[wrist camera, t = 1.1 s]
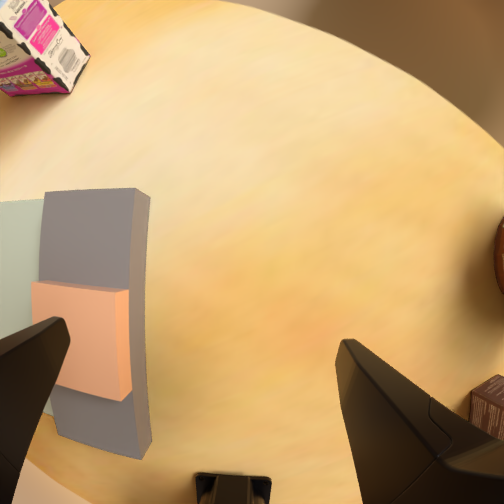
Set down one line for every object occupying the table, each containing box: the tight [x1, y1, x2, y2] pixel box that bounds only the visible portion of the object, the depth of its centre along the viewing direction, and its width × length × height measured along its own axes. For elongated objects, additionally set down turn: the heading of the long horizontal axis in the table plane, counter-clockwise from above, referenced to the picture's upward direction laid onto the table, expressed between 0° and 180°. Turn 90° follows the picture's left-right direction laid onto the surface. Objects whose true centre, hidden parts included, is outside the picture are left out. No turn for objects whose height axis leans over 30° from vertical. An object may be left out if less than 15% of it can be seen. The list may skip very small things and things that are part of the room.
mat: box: [0, 199, 54, 416], centre depth 21 cm, size 20×12×1 cm, turn 177°
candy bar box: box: [0, 0, 90, 96], centre depth 13 cm, size 11×5×16 cm, turn 76°
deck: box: [39, 188, 152, 460], centre depth 19 cm, size 20×8×3 cm, turn 177°
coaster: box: [31, 280, 132, 401], centre depth 17 cm, size 7×7×2 cm
